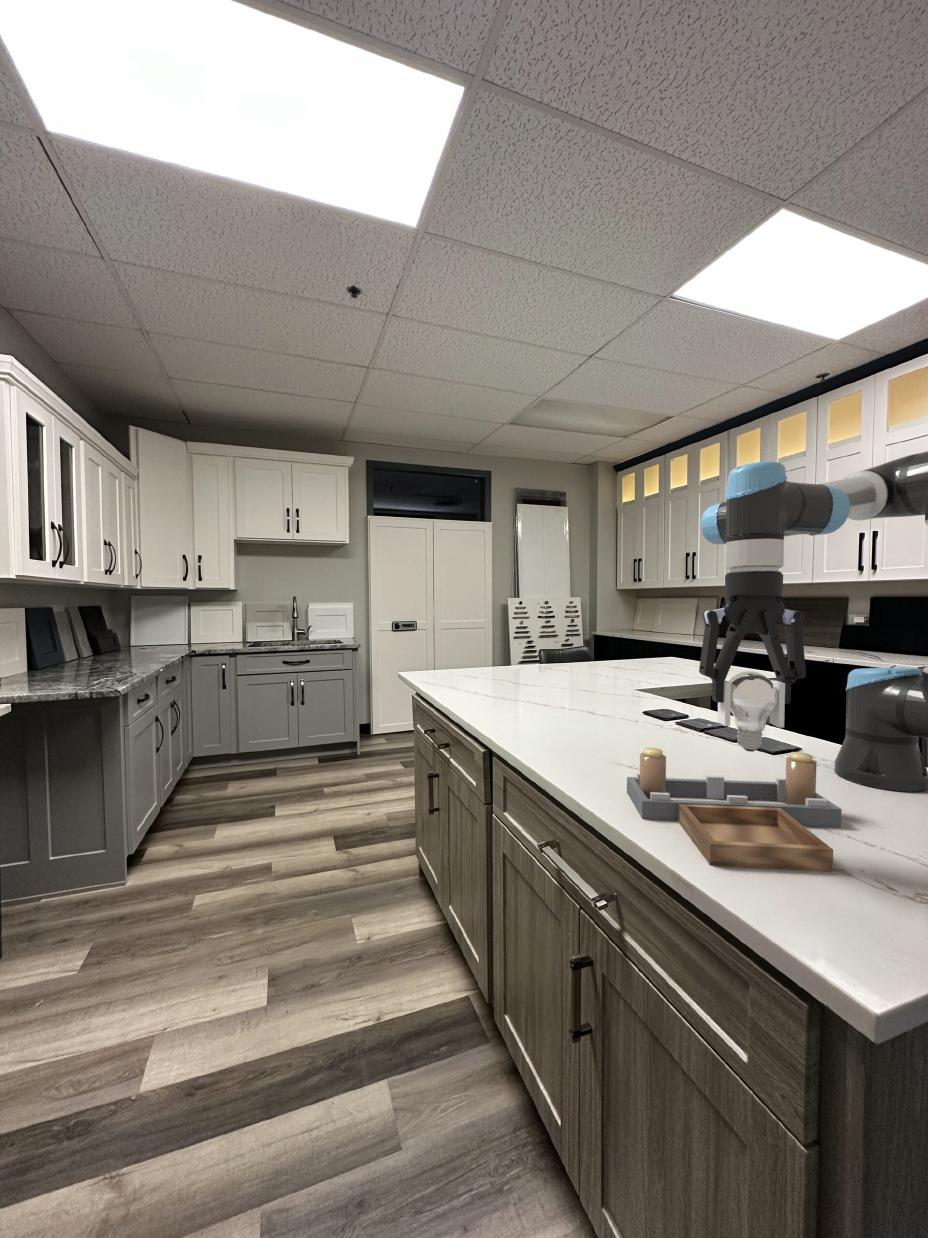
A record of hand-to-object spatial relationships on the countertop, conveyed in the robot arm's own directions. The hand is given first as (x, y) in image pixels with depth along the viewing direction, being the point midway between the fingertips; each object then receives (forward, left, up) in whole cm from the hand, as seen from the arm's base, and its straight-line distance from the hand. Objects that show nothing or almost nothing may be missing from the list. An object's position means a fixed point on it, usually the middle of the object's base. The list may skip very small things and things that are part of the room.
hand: (750, 724), depth 76 cm
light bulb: (0, 0, -4) cm, 4 cm away
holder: (-2, -14, -18) cm, 23 cm away
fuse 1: (+10, -14, -18) cm, 25 cm away
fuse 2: (-15, -14, -18) cm, 27 cm away
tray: (0, 0, -18) cm, 18 cm away
